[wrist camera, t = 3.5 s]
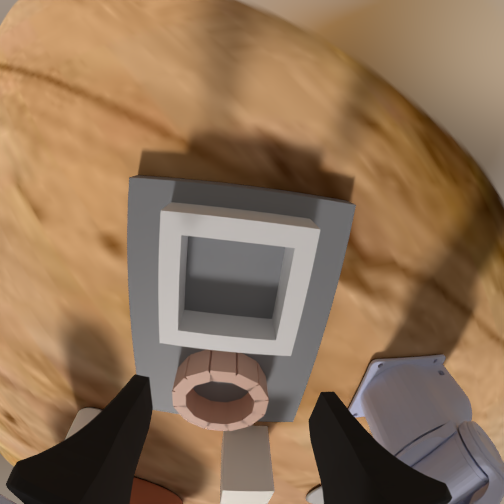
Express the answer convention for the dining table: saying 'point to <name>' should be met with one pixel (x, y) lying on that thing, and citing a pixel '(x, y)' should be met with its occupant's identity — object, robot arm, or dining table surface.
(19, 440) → the dining table surface
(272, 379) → the socket board
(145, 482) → the potted cactus
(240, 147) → the dining table surface
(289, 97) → the dining table surface
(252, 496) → the square peg
